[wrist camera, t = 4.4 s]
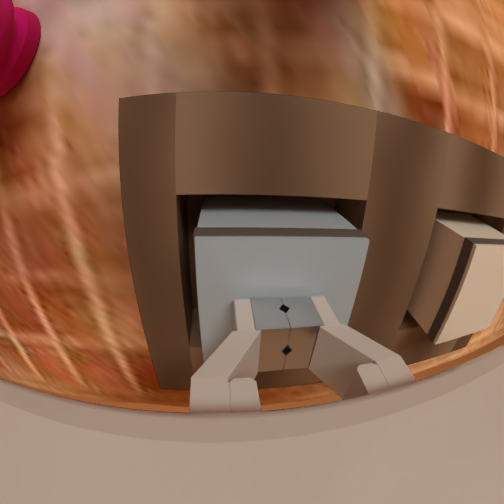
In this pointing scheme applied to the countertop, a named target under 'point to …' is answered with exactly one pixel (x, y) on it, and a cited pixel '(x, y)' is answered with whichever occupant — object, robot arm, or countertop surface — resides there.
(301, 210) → the slate key
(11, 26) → the pepper mill
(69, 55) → the countertop surface
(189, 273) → the frame
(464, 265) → the cream key
